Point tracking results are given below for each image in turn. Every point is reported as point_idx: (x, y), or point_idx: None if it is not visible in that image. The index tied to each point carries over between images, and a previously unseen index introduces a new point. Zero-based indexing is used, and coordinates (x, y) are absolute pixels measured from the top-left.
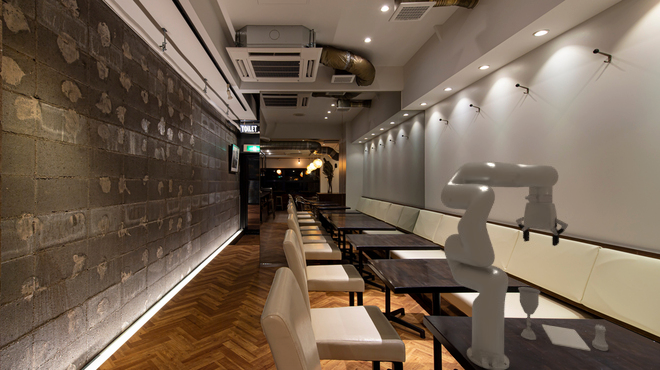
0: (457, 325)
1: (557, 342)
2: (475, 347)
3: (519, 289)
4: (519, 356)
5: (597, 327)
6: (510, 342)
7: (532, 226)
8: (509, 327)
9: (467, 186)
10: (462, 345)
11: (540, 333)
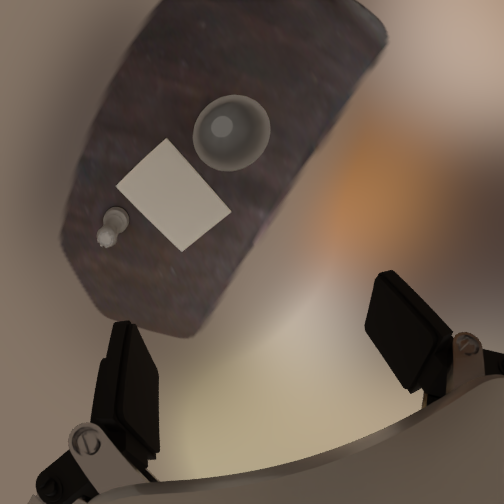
0: (334, 35)
1: (162, 150)
2: None
3: (264, 121)
4: (177, 20)
5: (106, 231)
6: (221, 55)
7: (433, 432)
8: None
9: None
10: None
11: None
